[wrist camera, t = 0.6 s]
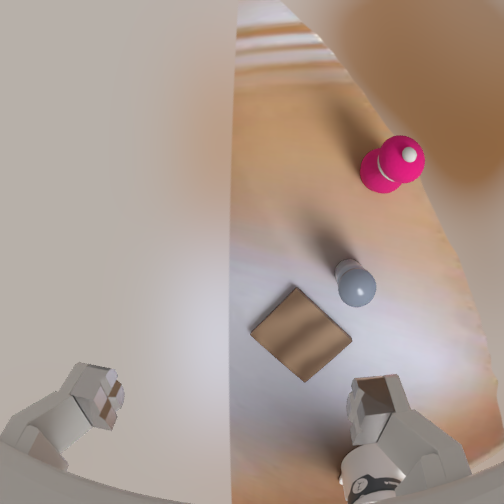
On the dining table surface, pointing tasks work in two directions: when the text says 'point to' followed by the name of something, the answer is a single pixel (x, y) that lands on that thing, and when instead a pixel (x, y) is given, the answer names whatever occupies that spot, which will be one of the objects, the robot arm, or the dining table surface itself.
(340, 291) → the spice jar
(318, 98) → the dining table surface
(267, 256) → the dining table surface
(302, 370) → the walnut board
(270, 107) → the dining table surface
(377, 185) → the pepper mill
